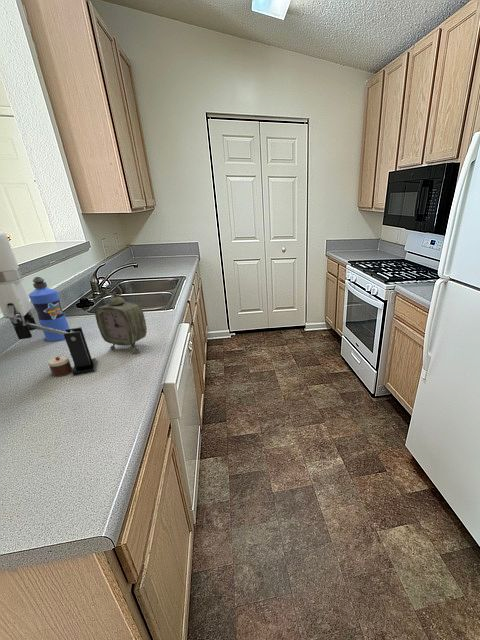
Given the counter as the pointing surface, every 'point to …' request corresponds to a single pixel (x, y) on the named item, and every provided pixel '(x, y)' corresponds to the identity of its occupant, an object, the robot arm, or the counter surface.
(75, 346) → the black upright frame
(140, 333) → the tabletop clock
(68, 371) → the cake
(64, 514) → the counter surface
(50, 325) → the blue bottle
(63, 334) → the lever
